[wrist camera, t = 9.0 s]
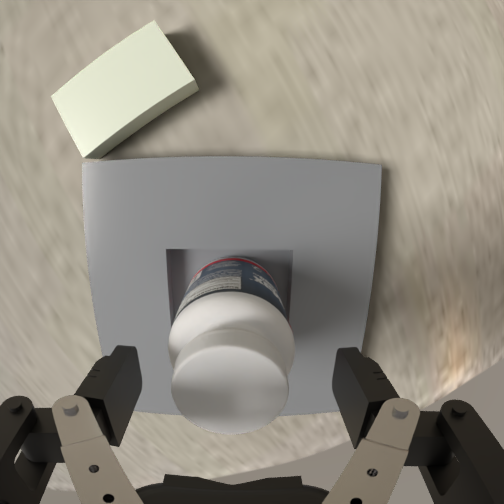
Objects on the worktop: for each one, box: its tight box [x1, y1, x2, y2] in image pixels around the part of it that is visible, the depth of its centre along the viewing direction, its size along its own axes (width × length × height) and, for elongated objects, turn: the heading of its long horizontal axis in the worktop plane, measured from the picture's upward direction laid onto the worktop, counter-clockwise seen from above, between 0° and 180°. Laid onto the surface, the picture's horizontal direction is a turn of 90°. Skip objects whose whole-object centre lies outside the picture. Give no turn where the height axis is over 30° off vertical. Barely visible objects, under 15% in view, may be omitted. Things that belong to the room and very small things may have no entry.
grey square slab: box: [82, 156, 382, 416], centre depth 18 cm, size 16×16×2 cm
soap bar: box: [51, 21, 199, 159], centre depth 15 cm, size 7×4×2 cm, turn 121°
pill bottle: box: [168, 257, 295, 434], centre depth 14 cm, size 5×5×9 cm
